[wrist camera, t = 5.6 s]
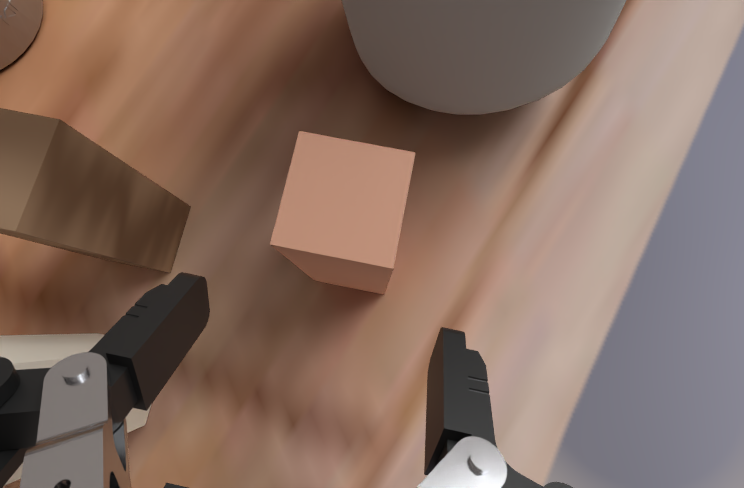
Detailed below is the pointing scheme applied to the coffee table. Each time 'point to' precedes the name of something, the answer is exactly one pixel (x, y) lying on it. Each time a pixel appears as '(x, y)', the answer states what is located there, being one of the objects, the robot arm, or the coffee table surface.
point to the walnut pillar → (82, 196)
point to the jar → (478, 48)
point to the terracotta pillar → (343, 210)
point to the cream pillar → (54, 362)
